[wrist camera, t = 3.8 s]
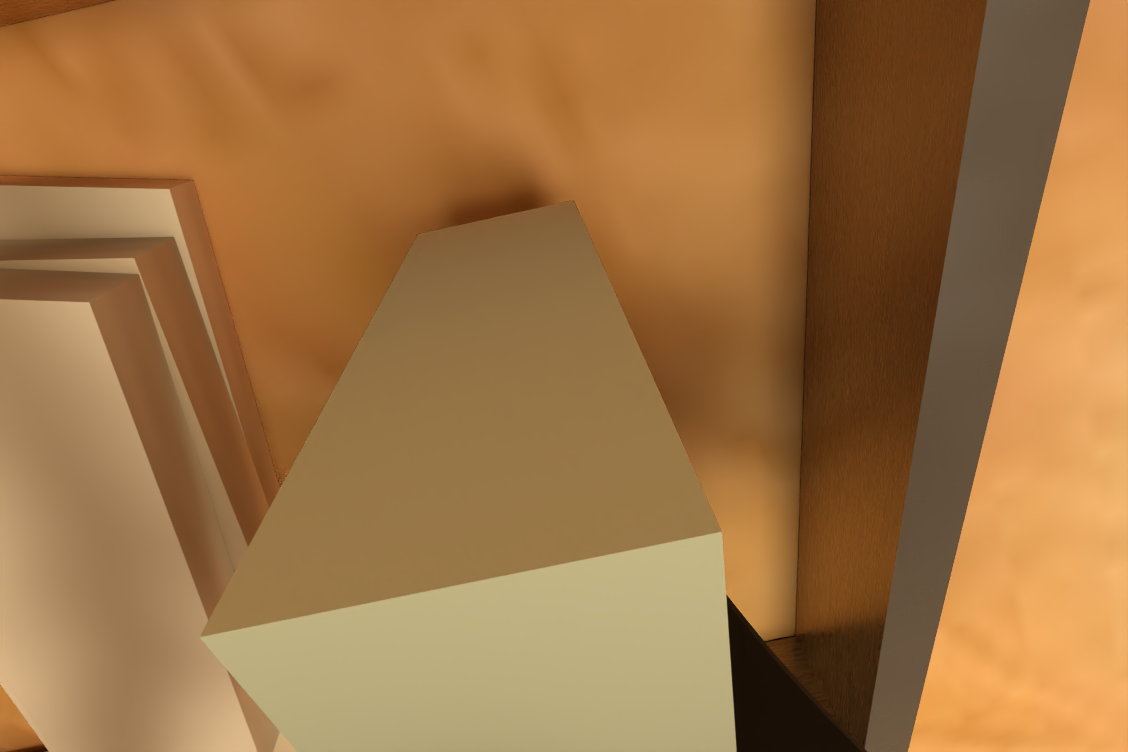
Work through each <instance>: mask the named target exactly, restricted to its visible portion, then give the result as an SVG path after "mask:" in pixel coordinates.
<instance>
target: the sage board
mask: <svg viewBox="0 0 1128 752" xmlns="http://www.w3.org/2000/svg"><path fill="white" fill-rule="evenodd" d="M200 639H201V640H202V641H203V642H204V643H205V644H206V646H207V647H208V648H209V649H210V650H211V651H212V653H213V654H214V655H215V656H216V657H217V658H218V660H219V661H220V662H221V663H222V664H223V665H224V667H225V668H226V669H227V670H228V671H229V672H230V674H231V675H232V676H233V677H234V678H235V679H236V681H237V682H238V683H239V684H240V685H241V686H242V688H243V689H244V690H245V691H246V692H247V694H248V695H249V696H250V697H251V698H252V699H253V701H254V702H255V703H256V704H257V705H258V706H259V708H260V709H261V710H262V711H263V712H264V713H265V715H266V716H267V717H268V718H269V719H270V720H271V722H272V723H273V724H274V725H275V726H276V727H277V729H278V730H279V731H280V732H281V733H282V734H283V736H284V737H285V738H286V739H287V740H288V741H289V743H290V744H291V745H292V746H293V747H294V748H295V750H296V751H297V752H737V749H736V734H735V719H734V704H733V689H732V674H731V659H730V644H729V629H728V614H727V599H726V584H725V569H724V554H723V539H722V531H721V528H720V526H719V524H718V522H717V519H716V517H715V515H714V513H713V510H712V508H711V506H710V504H709V502H708V499H707V497H706V495H705V493H704V490H703V488H702V486H701V484H700V481H699V479H698V477H697V475H696V472H695V470H694V468H693V466H692V464H691V461H690V459H689V457H688V455H687V452H686V450H685V448H684V446H683V443H682V441H681V439H680V437H679V435H678V432H677V430H676V428H675V426H674V423H673V421H672V419H671V417H670V414H669V412H668V410H667V408H666V405H665V403H664V401H663V399H662V397H661V394H660V392H659V390H658V388H657V385H656V383H655V381H654V379H653V376H652V374H651V372H650V370H649V367H648V365H647V363H646V361H645V359H644V356H643V354H642V352H641V350H640V347H639V345H638V343H637V341H636V338H635V336H634V334H633V332H632V329H631V327H630V325H629V323H628V321H627V318H626V316H625V314H624V312H623V309H622V307H621V305H620V303H619V300H618V298H617V296H616V294H615V291H614V289H613V287H612V285H611V283H610V280H609V278H608V276H607V274H606V271H605V269H604V267H603V265H602V262H601V260H600V258H599V256H598V253H597V251H596V249H595V247H594V245H593V242H592V240H591V238H590V236H589V233H588V231H587V229H586V227H585V224H584V222H583V220H582V218H581V215H580V213H579V211H578V209H577V207H576V204H575V202H574V200H572V201H567V202H563V203H558V204H553V205H549V206H544V207H540V208H535V209H530V210H526V211H521V212H517V213H512V214H508V215H503V216H498V217H494V218H489V219H485V220H480V221H475V222H471V223H466V224H462V225H457V226H453V227H448V228H443V229H439V230H434V231H430V232H425V233H420V234H417V236H416V238H415V240H414V242H413V244H412V245H411V247H410V249H409V251H408V253H407V255H406V257H405V258H404V260H403V262H402V264H401V266H400V268H399V269H398V271H397V273H396V275H395V277H394V279H393V281H392V282H391V284H390V286H389V288H388V290H387V292H386V294H385V295H384V297H383V299H382V301H381V303H380V305H379V306H378V308H377V310H376V312H375V314H374V316H373V318H372V319H371V321H370V323H369V325H368V327H367V329H366V330H365V332H364V334H363V336H362V338H361V340H360V342H359V343H358V345H357V347H356V349H355V351H354V353H353V354H352V356H351V358H350V360H349V362H348V364H347V366H346V367H345V369H344V371H343V373H342V375H341V377H340V378H339V380H338V382H337V384H336V386H335V388H334V390H333V391H332V393H331V395H330V397H329V399H328V401H327V402H326V404H325V406H324V408H323V410H322V412H321V414H320V415H319V417H318V419H317V421H316V423H315V425H314V427H313V428H312V430H311V432H310V434H309V436H308V438H307V439H306V441H305V443H304V445H303V447H302V449H301V451H300V452H299V454H298V456H297V458H296V460H295V462H294V463H293V465H292V467H291V469H290V471H289V473H288V475H287V476H286V478H285V480H284V482H283V484H282V486H281V487H280V489H279V491H278V493H277V495H276V497H275V499H274V500H273V502H272V504H271V506H270V508H269V510H268V511H267V513H266V515H265V517H264V519H263V521H262V523H261V524H260V526H259V528H258V530H257V532H256V534H255V535H254V537H253V539H252V541H251V543H250V545H249V547H248V548H247V550H246V552H245V554H244V556H243V558H242V559H241V561H240V563H239V565H238V567H237V569H236V571H235V572H234V574H233V576H232V578H231V580H230V582H229V584H228V585H227V587H226V589H225V591H224V593H223V595H222V596H221V598H220V600H219V602H218V604H217V606H216V608H215V609H214V611H213V613H212V615H211V617H210V619H209V620H208V622H207V624H206V626H205V628H204V630H203V632H202V633H201V635H200Z"/></svg>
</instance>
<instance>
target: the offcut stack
mask: <svg viewBox="0 0 1128 752" xmlns="http://www.w3.org/2000/svg"><path fill="white" fill-rule="evenodd" d="M279 489H280V487H279V483H278V480H277V476H276V472H275V469H274V465H273V462H272V458H271V455H270V451H269V448H268V444H267V440H266V437H265V433H264V430H263V426H262V423H261V419H260V416H259V412H258V408H257V405H256V401H255V398H254V394H253V391H252V387H251V383H250V380H249V376H248V373H247V369H246V366H245V362H244V359H243V355H242V351H241V348H240V344H239V341H238V337H237V334H236V330H235V327H234V323H233V319H232V316H231V312H230V309H229V305H228V302H227V298H226V295H225V291H224V287H223V284H222V280H221V277H220V273H219V270H218V266H217V262H216V259H215V255H214V252H213V248H212V245H211V241H210V238H209V234H208V230H207V227H206V223H205V220H204V216H203V213H202V209H201V206H200V202H199V198H198V195H197V191H196V188H195V184H194V181H193V180H171V179H129V178H87V177H45V176H4V175H0V685H1V686H2V687H3V689H4V690H5V692H6V693H7V694H8V696H9V697H10V698H11V700H12V701H13V703H14V704H15V705H16V707H17V708H18V710H19V711H20V712H21V714H22V715H23V716H24V718H25V719H26V721H27V722H28V723H29V725H30V726H31V728H32V729H33V730H34V732H35V733H36V734H37V736H38V737H39V739H40V740H41V741H42V743H43V744H44V745H45V747H46V748H47V750H48V751H49V752H297V751H296V750H295V748H294V747H293V746H292V745H291V744H290V743H289V741H288V740H287V739H286V738H285V737H284V736H283V734H282V733H281V732H280V731H279V730H278V729H277V727H276V726H275V725H274V724H273V723H272V722H271V720H270V719H269V718H268V717H267V716H266V715H265V713H264V712H263V711H262V710H261V709H260V708H259V706H258V705H257V704H256V703H255V702H254V701H253V699H252V698H251V697H250V696H249V695H248V694H247V692H246V691H245V690H244V689H243V688H242V686H241V685H240V684H239V683H238V682H237V681H236V679H235V678H234V677H233V676H232V675H231V674H230V672H229V671H228V670H227V669H226V668H225V667H224V665H223V664H222V663H221V662H220V661H219V660H218V658H217V657H216V656H215V655H214V654H213V653H212V651H211V650H210V649H209V648H208V647H207V646H206V644H205V643H204V642H203V641H202V640H201V639H200V635H201V633H202V632H203V630H204V628H205V626H206V624H207V622H208V620H209V619H210V617H211V615H212V613H213V611H214V609H215V608H216V606H217V604H218V602H219V600H220V598H221V596H222V595H223V593H224V591H225V589H226V587H227V585H228V584H229V582H230V580H231V578H232V576H233V574H234V572H235V571H236V569H237V567H238V565H239V563H240V561H241V559H242V558H243V556H244V554H245V552H246V550H247V548H248V547H249V545H250V543H251V541H252V539H253V537H254V535H255V534H256V532H257V530H258V528H259V526H260V524H261V523H262V521H263V519H264V517H265V515H266V513H267V511H268V510H269V508H270V506H271V504H272V502H273V500H274V499H275V497H276V495H277V493H278V491H279Z"/></svg>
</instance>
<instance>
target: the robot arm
mask: <svg viewBox="0 0 1128 752" xmlns="http://www.w3.org/2000/svg"><path fill="white" fill-rule="evenodd" d="M726 599H727V614H728V629H729V644H730V659H731V674H732V689H733V704H734V719H735V734H736V749H737V752H867V751H866V750H865V749H864V748H863V747H862V746H861V745H860V744H859V743H858V742H857V741H856V740H855V739H854V738H853V737H852V736H851V735H850V734H849V733H848V732H847V731H846V730H845V729H844V728H843V727H842V726H841V725H840V724H839V723H838V722H837V721H836V720H835V719H834V717H833V716H832V715H831V714H830V713H829V712H828V711H827V710H826V709H825V708H824V707H823V706H822V705H821V704H820V703H819V702H818V701H817V700H816V699H815V698H814V697H813V695H812V694H811V693H810V692H809V691H808V690H807V689H806V688H805V687H804V686H803V685H802V684H801V683H800V681H799V680H798V679H797V678H796V677H795V676H794V675H793V674H792V672H791V671H790V670H789V669H788V668H787V667H786V666H785V665H784V664H783V662H782V661H781V660H780V659H779V658H778V657H777V656H776V655H775V653H774V652H773V651H772V650H771V649H770V648H769V646H768V645H767V644H766V643H765V642H764V641H763V639H762V638H761V637H760V636H759V635H758V633H757V632H756V631H755V630H754V628H753V627H752V626H751V625H750V623H749V622H748V621H747V620H746V619H745V617H744V616H743V615H742V614H741V612H740V611H739V610H738V609H737V607H736V606H735V605H734V604H733V602H732V601H731V600H730V599H729V597H728V596H727V595H726ZM45 752H49V751H45Z"/></svg>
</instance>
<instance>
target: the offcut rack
mask: <svg viewBox="0 0 1128 752" xmlns="http://www.w3.org/2000/svg"><path fill="white" fill-rule="evenodd" d="M109 1H113V0H0V27H1V26H6V25H10V24H14V23H18V22H23V21H27V20H31V19H36V18H40V17H44V16H49V15H53V14H57V13H61V12H66V11H70V10H74V9H79V8H83V7H87V6H91V5H96V4H100V3H104V2H109ZM1089 3H1090V0H817V17H816V46H815V76H814V106H813V136H812V166H811V196H810V225H809V255H808V285H807V315H806V345H805V375H804V405H803V434H802V464H801V494H800V524H799V554H798V584H797V613H796V636H795V637H790V638H785V639H780V640H775V641H769V642H765V643H766V644H767V645H768V646H769V648H770V649H771V650H772V651H773V652H774V653H775V655H776V656H777V657H778V658H779V659H780V660H781V661H782V662H783V664H784V665H785V666H786V667H787V668H788V669H789V670H790V671H791V672H792V674H793V675H794V676H795V677H796V678H797V679H798V680H799V681H800V683H801V684H802V685H803V686H804V687H805V688H806V689H807V690H808V691H809V692H810V693H811V694H812V695H813V697H814V698H815V699H816V700H817V701H818V702H819V703H820V704H821V705H822V706H823V707H824V708H825V709H826V710H827V711H828V712H829V713H830V714H831V715H832V716H833V717H834V719H835V720H836V721H837V722H838V723H839V724H840V725H841V726H842V727H843V728H844V729H845V730H846V731H847V732H848V733H849V734H850V735H851V736H852V737H853V738H854V739H855V740H856V741H857V742H858V743H859V744H860V745H861V746H862V747H863V748H864V749H865V750H866V751H867V752H908V748H909V744H910V740H911V736H912V732H913V728H914V724H915V720H916V715H917V711H918V707H919V703H920V699H921V695H922V691H923V687H924V682H925V678H926V674H927V670H928V666H929V662H930V658H931V654H932V650H933V645H934V641H935V637H936V633H937V629H938V625H939V621H940V617H941V612H942V608H943V604H944V600H945V596H946V592H947V588H948V584H949V580H950V575H951V571H952V567H953V563H954V559H955V555H956V551H957V547H958V542H959V538H960V534H961V530H962V526H963V522H964V518H965V514H966V509H967V505H968V501H969V497H970V493H971V489H972V485H973V481H974V477H975V472H976V468H977V464H978V460H979V456H980V452H981V448H982V444H983V439H984V435H985V431H986V427H987V423H988V419H989V415H990V411H991V407H992V402H993V398H994V394H995V390H996V386H997V382H998V378H999V374H1000V369H1001V365H1002V361H1003V357H1004V353H1005V349H1006V345H1007V341H1008V336H1009V332H1010V328H1011V324H1012V320H1013V316H1014V312H1015V308H1016V304H1017V299H1018V295H1019V291H1020V287H1021V283H1022V279H1023V275H1024V271H1025V266H1026V262H1027V258H1028V254H1029V250H1030V246H1031V242H1032V238H1033V234H1034V229H1035V225H1036V221H1037V217H1038V213H1039V209H1040V205H1041V201H1042V196H1043V192H1044V188H1045V184H1046V180H1047V176H1048V172H1049V168H1050V163H1051V159H1052V155H1053V151H1054V147H1055V143H1056V139H1057V135H1058V131H1059V126H1060V122H1061V118H1062V114H1063V110H1064V106H1065V102H1066V98H1067V93H1068V89H1069V85H1070V81H1071V77H1072V73H1073V69H1074V65H1075V61H1076V56H1077V52H1078V48H1079V44H1080V40H1081V36H1082V32H1083V28H1084V23H1085V19H1086V15H1087V11H1088V7H1089Z"/></svg>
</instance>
